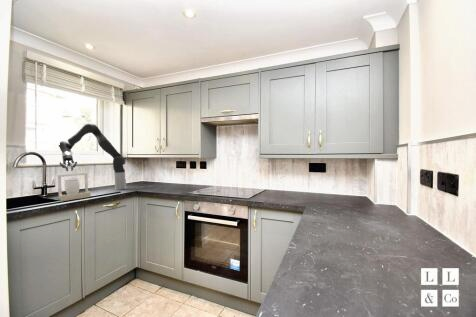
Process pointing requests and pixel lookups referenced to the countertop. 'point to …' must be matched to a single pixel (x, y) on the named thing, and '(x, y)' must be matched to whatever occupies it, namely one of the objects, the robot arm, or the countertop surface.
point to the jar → (72, 185)
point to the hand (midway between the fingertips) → (69, 170)
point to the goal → (73, 196)
